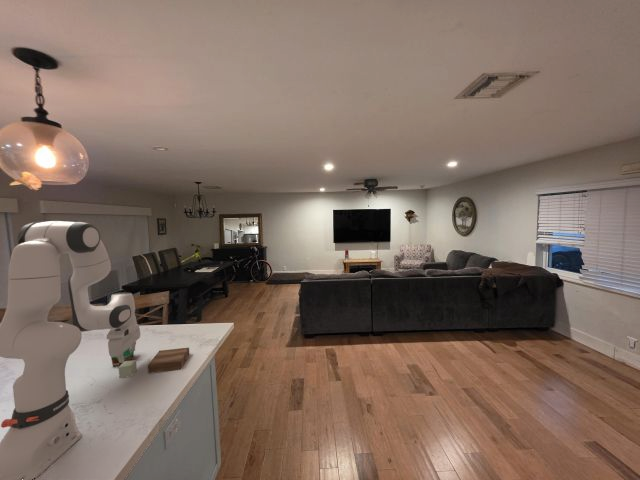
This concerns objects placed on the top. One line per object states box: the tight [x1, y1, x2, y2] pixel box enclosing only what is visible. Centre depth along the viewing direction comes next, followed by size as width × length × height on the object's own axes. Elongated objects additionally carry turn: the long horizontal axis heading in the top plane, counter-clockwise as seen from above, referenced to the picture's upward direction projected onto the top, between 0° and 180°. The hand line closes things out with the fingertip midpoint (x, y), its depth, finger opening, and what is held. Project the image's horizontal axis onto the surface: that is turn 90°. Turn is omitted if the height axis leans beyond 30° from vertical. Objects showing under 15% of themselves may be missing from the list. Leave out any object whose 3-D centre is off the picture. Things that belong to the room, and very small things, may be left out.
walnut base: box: [147, 347, 190, 374], centre depth 130 cm, size 14×14×4 cm
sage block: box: [118, 359, 138, 379], centre depth 122 cm, size 5×5×5 cm
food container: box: [110, 347, 135, 368], centre depth 133 cm, size 12×6×10 cm, turn 168°
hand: (127, 356), depth 122 cm, fingers open, 8 cm apart
